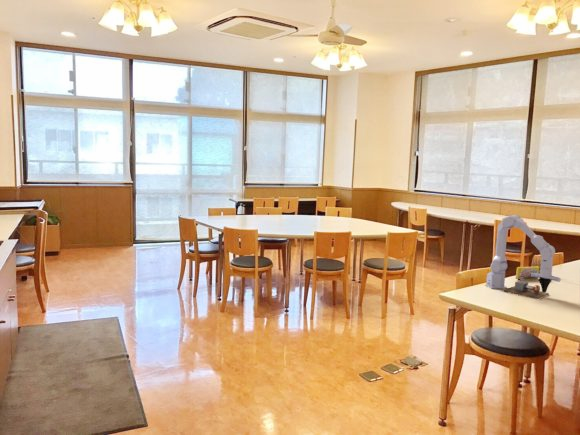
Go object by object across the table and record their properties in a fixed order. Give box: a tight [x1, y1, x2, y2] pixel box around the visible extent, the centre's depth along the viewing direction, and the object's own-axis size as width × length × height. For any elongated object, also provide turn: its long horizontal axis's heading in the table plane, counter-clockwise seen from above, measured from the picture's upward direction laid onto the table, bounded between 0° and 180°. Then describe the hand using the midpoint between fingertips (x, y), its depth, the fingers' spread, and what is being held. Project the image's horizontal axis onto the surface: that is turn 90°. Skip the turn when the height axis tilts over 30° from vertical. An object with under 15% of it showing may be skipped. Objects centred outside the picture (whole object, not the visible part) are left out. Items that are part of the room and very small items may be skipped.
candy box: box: [515, 266, 539, 280], centre depth 302 cm, size 16×2×8 cm, turn 105°
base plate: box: [503, 285, 549, 300], centre depth 269 cm, size 19×14×1 cm
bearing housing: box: [514, 280, 529, 292], centre depth 271 cm, size 4×7×5 cm, turn 131°
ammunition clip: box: [530, 256, 541, 274], centre depth 313 cm, size 11×2×12 cm, turn 49°
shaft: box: [524, 284, 541, 293], centre depth 268 cm, size 10×4×4 cm, turn 41°
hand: (544, 291), depth 262 cm, fingers closed
